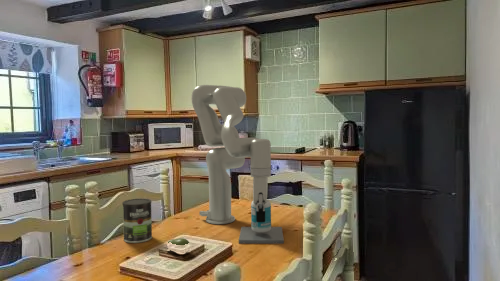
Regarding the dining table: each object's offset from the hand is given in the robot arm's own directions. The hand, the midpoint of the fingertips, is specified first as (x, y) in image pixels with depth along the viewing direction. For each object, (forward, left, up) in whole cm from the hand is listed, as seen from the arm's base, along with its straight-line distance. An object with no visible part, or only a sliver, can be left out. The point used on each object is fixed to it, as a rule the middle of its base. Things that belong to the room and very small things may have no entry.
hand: (261, 218), depth 139 cm
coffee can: (-46, -3, -7) cm, 47 cm away
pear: (-28, -17, -7) cm, 33 cm away
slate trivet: (0, 0, -7) cm, 7 cm away
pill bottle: (0, 0, -5) cm, 5 cm away
